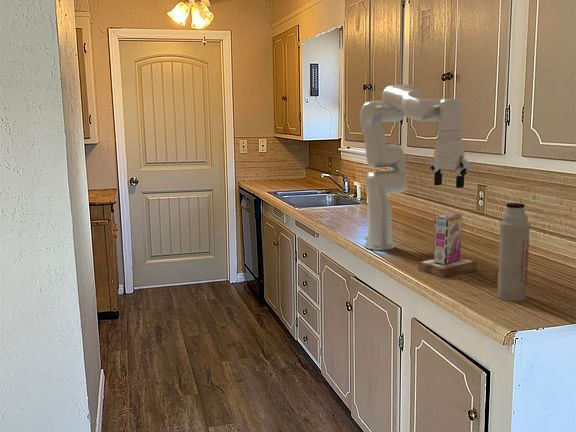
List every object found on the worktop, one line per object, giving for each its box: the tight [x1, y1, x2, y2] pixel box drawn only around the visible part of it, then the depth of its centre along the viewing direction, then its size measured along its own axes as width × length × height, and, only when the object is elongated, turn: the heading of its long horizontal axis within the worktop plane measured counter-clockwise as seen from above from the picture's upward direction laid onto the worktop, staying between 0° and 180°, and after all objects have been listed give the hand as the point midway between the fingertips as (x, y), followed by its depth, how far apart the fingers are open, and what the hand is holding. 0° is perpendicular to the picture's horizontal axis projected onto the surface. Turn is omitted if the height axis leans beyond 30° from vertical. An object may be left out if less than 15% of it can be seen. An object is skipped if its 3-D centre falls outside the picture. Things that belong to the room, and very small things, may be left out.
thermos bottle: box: [497, 202, 531, 302], centre depth 167 cm, size 8×8×28 cm
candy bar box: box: [433, 212, 463, 265], centre depth 199 cm, size 11×5×16 cm, turn 138°
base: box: [417, 257, 478, 279], centre depth 200 cm, size 12×16×3 cm
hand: (448, 186), depth 196 cm, fingers open, 9 cm apart
